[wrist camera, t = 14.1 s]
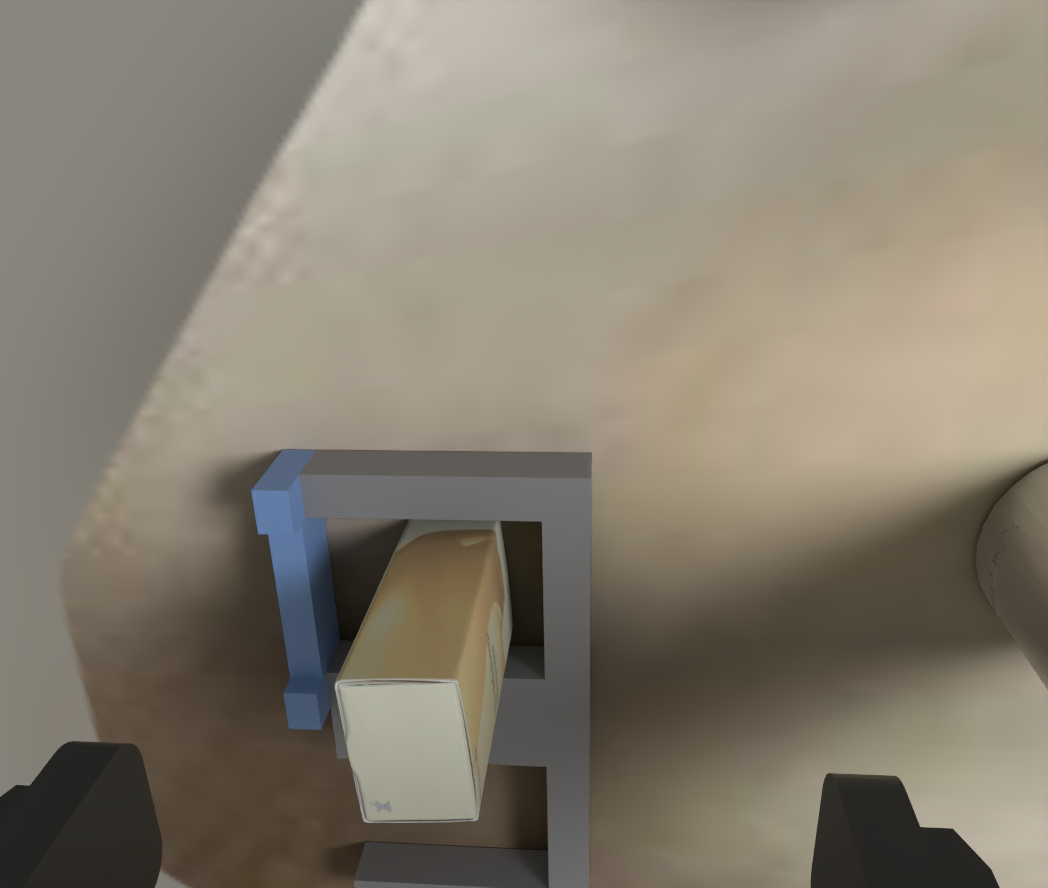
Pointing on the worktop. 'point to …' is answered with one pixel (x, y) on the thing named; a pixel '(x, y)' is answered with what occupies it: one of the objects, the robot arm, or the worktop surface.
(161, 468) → the worktop surface
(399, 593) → the skincare box
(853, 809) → the robot arm
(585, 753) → the rail
